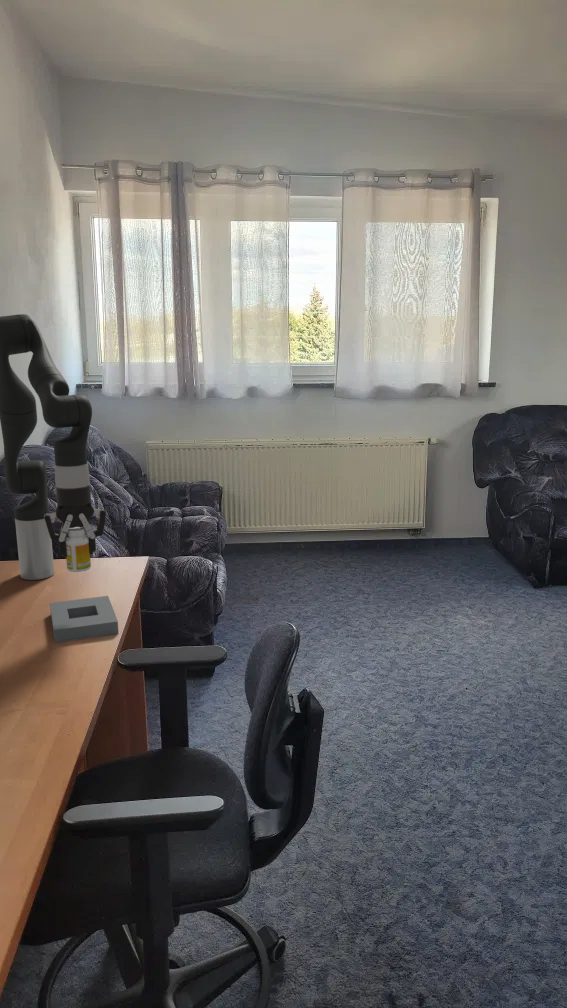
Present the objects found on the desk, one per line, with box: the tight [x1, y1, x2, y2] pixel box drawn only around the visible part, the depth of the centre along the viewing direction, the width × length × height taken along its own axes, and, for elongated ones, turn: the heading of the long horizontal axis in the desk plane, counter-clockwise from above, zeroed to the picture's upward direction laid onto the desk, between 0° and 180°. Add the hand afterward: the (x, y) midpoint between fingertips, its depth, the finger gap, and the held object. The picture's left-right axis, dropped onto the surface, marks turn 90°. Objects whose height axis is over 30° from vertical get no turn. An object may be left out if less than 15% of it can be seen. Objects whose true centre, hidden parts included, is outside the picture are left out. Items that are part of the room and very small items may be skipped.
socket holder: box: [49, 595, 119, 644], centre depth 171 cm, size 18×14×3 cm
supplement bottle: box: [65, 526, 92, 573], centre depth 167 cm, size 5×5×10 cm
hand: (78, 554), depth 168 cm, fingers closed on supplement bottle, 5 cm apart
